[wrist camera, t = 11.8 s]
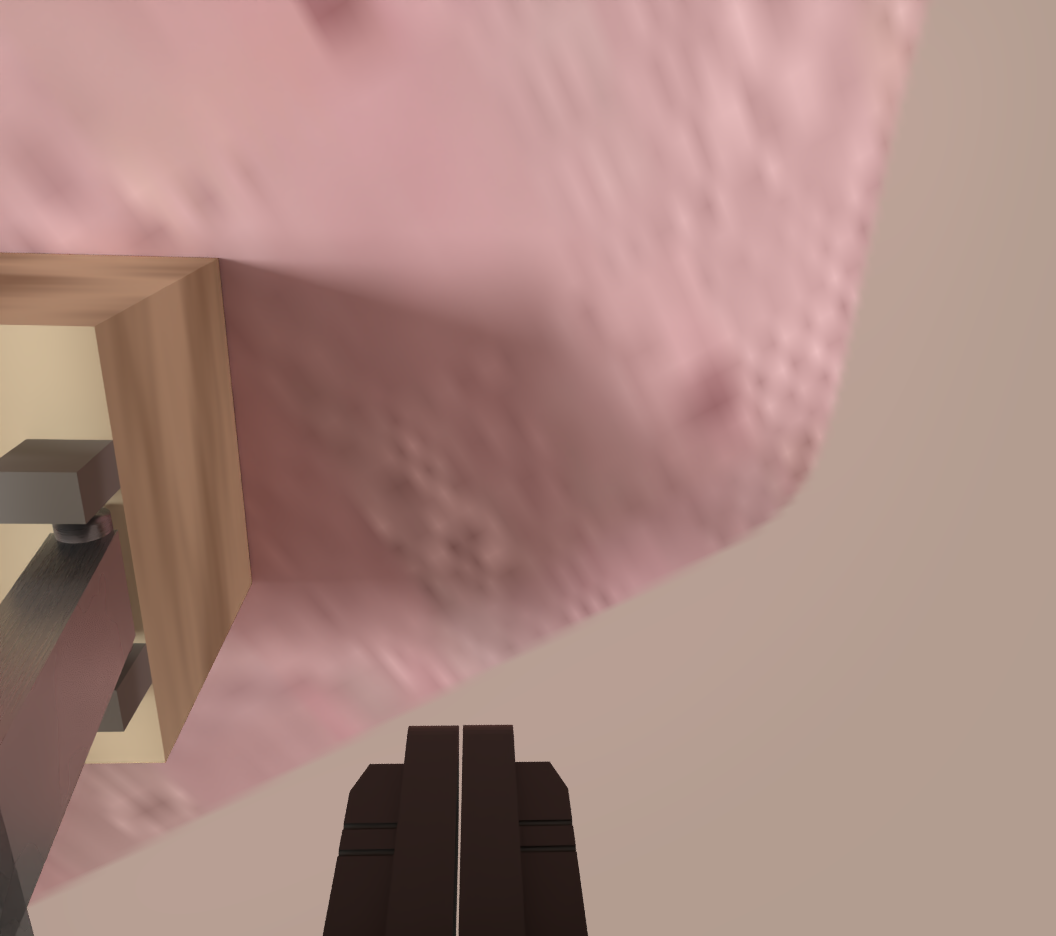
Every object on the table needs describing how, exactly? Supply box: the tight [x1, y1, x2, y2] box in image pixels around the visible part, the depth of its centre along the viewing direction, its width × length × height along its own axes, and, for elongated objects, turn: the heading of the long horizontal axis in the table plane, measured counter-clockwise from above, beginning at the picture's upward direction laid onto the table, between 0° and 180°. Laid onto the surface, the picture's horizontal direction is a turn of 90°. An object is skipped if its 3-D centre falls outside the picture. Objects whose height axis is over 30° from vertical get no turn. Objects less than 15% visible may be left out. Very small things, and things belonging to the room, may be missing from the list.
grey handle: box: [0, 507, 136, 936], centre depth 13 cm, size 8×4×1 cm
